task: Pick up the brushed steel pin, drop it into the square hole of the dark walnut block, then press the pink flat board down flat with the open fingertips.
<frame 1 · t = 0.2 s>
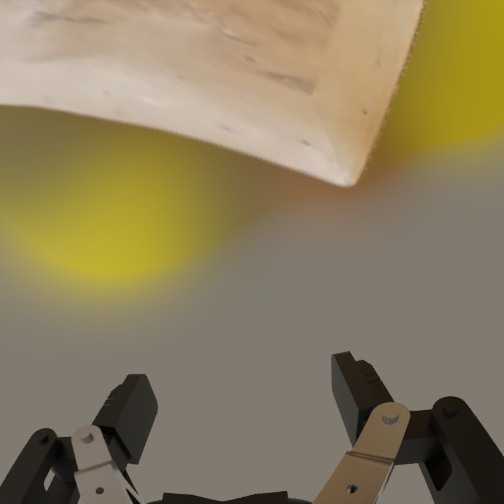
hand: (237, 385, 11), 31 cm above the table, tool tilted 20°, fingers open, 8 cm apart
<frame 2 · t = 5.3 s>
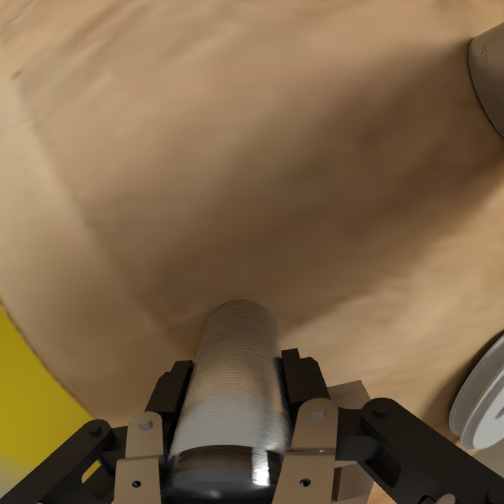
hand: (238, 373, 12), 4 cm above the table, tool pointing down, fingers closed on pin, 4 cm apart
pin: (241, 333, 16), on the table, touching gripper
lid: (493, 377, 18), on the table
socket block: (293, 462, 19), on the table
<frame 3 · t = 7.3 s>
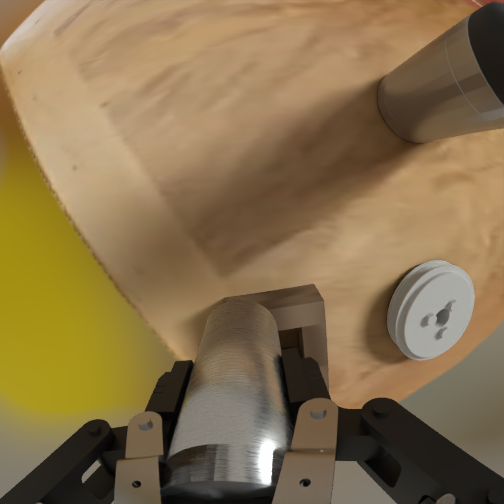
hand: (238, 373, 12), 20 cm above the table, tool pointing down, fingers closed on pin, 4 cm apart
pin: (241, 332, 16), point 16 cm above the table, touching gripper
lid: (424, 304, 33), on the table
socket block: (278, 352, 34), on the table
when the fingers open (6 cm above the table, at t = 9.7 s): pin drops 2 cm, resting in socket block.
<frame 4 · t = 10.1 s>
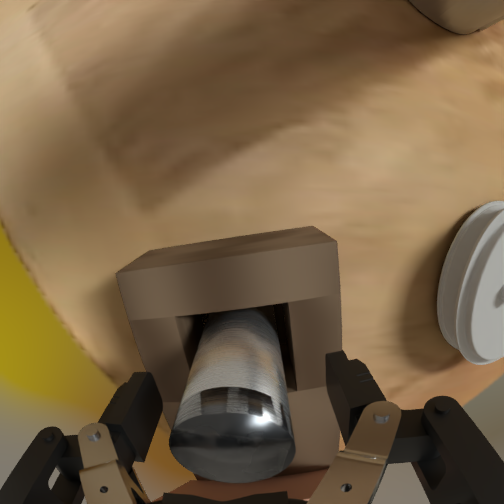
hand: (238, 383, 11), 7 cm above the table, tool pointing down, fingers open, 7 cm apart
pin: (242, 314, 18), resting in socket block
lid: (484, 276, 18), on the table
socket block: (249, 355, 19), on the table
pink flat board: (264, 495, 13), point 8 cm above the table, hinge at 45.0°
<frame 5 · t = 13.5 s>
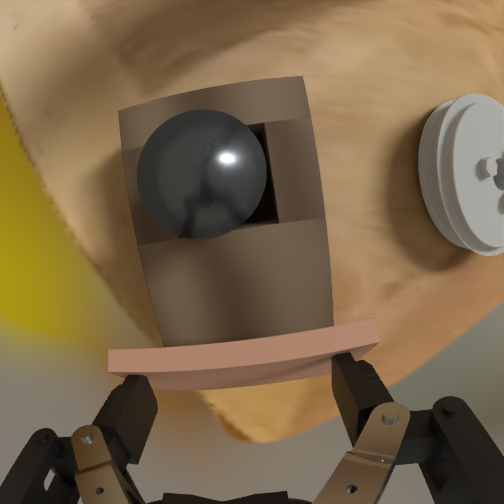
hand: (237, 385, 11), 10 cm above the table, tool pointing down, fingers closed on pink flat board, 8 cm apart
pin: (228, 180, 19), resting in socket block
lid: (467, 173, 19), on the table
socket block: (235, 225, 20), on the table
pink flat board: (246, 368, 13), point 8 cm above the table, hinge at 45.0°, touching gripper
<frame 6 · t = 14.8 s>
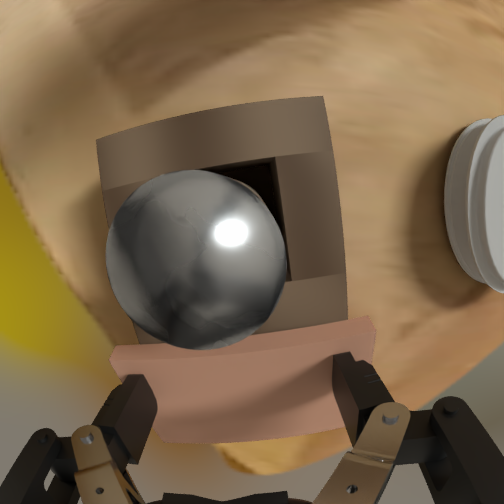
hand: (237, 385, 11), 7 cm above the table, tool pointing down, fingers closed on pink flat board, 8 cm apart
pin: (230, 215, 17), resting in socket block
lid: (491, 200, 17), on the table
socket block: (238, 267, 17), on the table
pink flat board: (248, 398, 12), point 6 cm above the table, hinge at 11.3°, touching gripper
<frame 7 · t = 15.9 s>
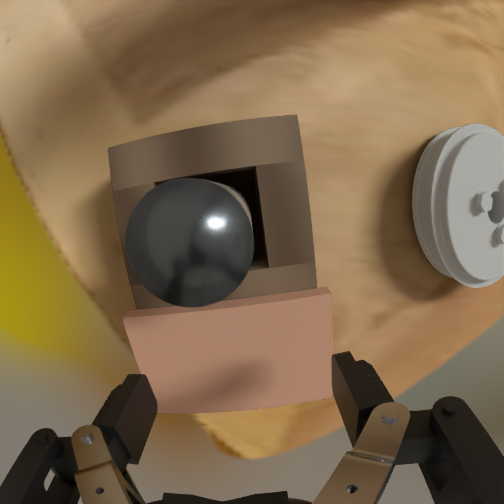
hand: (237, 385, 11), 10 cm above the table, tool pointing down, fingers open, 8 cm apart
pin: (220, 214, 19), resting in socket block
lid: (461, 202, 20), on the table
socket block: (226, 259, 20), on the table
pink flat board: (233, 361, 16), point 6 cm above the table, hinge at 1.0°, touching socket block
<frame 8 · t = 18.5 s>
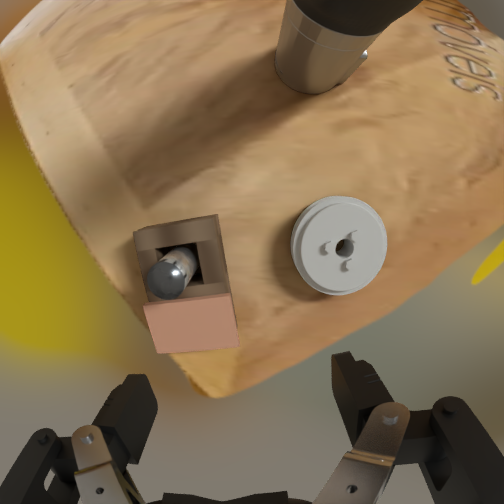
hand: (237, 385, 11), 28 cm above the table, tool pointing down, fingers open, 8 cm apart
pin: (187, 256, 39), resting in socket block
lid: (334, 242, 39), on the table
socket block: (191, 278, 40), on the table
pink flat board: (191, 325, 35), point 6 cm above the table, hinge at 0.9°
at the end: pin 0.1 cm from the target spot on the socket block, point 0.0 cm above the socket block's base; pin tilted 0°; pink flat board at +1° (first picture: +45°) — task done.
